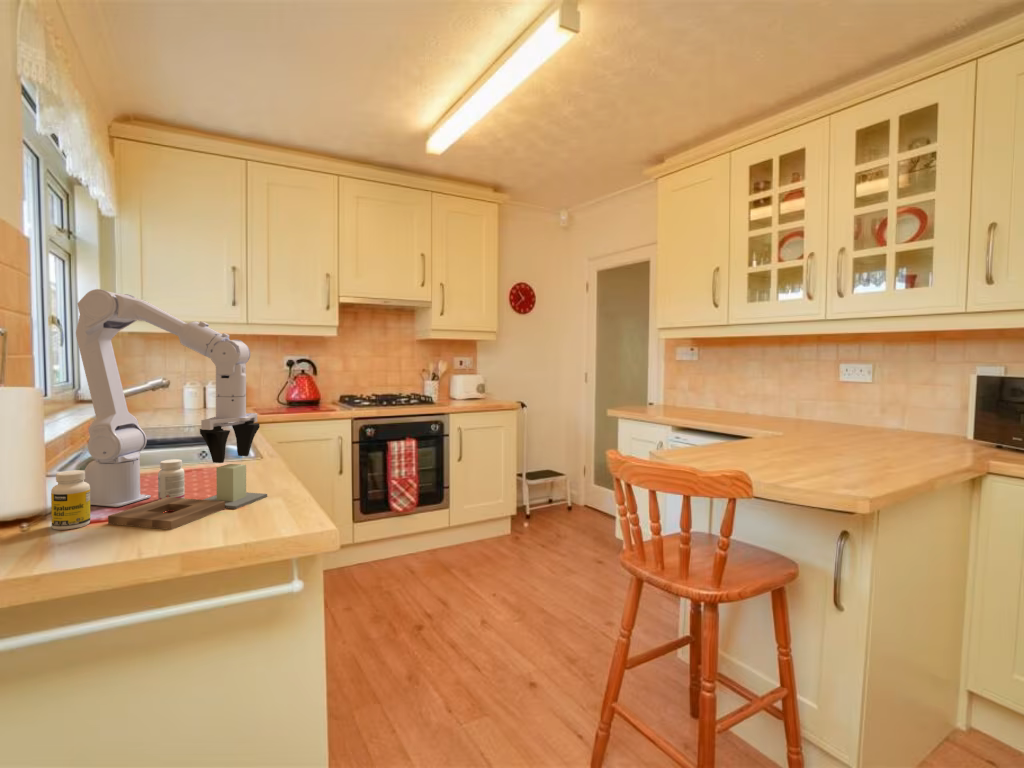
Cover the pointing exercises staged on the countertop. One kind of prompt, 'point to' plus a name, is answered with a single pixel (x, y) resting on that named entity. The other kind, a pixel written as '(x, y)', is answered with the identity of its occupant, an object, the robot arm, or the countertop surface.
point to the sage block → (231, 482)
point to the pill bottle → (171, 479)
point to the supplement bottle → (70, 501)
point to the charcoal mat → (240, 500)
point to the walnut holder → (155, 517)
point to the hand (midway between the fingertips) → (231, 459)
